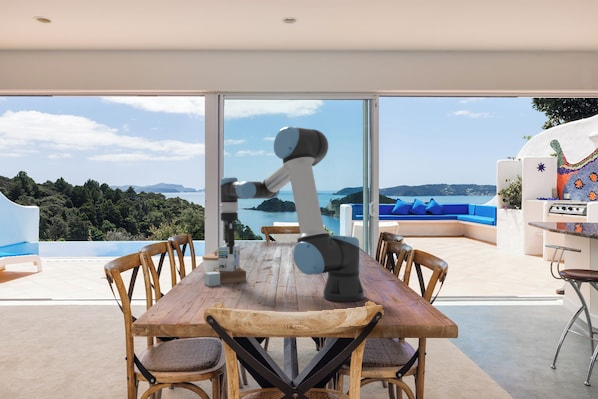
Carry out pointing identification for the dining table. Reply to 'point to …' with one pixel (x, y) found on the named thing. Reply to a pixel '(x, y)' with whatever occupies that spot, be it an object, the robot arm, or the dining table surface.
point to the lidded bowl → (210, 262)
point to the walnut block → (232, 275)
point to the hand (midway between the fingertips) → (229, 259)
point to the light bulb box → (223, 259)
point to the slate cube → (212, 278)
